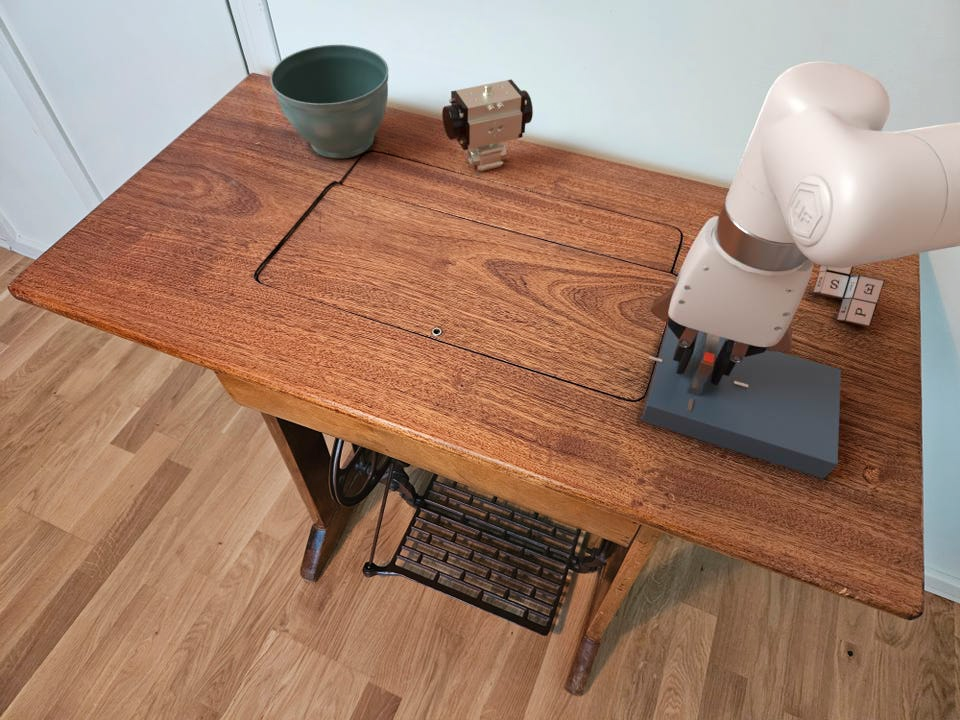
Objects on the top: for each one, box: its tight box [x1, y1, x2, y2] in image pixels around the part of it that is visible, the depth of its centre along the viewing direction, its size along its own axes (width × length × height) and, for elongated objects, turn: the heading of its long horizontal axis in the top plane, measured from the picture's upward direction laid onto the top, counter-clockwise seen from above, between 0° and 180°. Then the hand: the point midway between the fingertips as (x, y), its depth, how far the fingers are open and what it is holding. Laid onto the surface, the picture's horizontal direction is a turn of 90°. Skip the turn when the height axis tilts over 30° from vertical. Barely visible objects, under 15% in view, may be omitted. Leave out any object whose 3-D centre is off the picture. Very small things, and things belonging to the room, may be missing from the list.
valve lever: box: [687, 332, 720, 395], centre depth 62 cm, size 6×1×5 cm, turn 159°
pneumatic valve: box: [441, 79, 534, 172], centre depth 86 cm, size 6×12×12 cm, turn 112°
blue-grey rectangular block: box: [640, 326, 842, 480], centre depth 64 cm, size 19×12×3 cm, turn 69°
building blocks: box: [812, 265, 886, 327], centre depth 72 cm, size 5×5×8 cm
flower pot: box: [269, 44, 389, 159], centre depth 90 cm, size 16×16×11 cm
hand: (699, 368), depth 64 cm, fingers closed
